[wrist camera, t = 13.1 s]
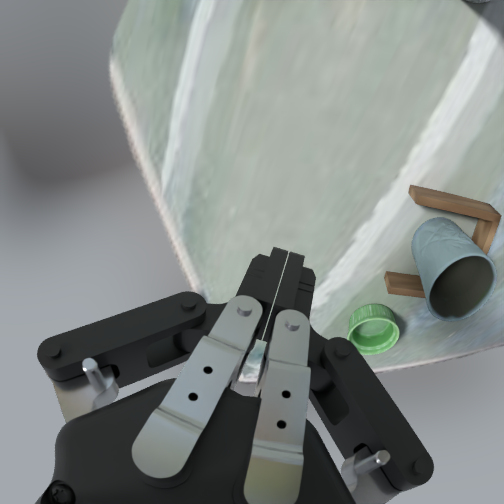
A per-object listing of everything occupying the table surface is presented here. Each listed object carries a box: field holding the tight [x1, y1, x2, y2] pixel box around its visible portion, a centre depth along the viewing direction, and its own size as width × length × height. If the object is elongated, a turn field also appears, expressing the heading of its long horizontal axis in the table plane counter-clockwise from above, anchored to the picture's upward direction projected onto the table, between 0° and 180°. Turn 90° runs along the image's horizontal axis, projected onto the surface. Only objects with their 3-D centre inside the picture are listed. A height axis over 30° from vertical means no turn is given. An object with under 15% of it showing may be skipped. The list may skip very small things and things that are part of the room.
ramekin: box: [347, 304, 399, 355], centre depth 48 cm, size 9×9×4 cm
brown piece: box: [384, 185, 501, 298], centre depth 38 cm, size 15×14×4 cm
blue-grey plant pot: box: [412, 217, 497, 321], centre depth 34 cm, size 10×10×12 cm
